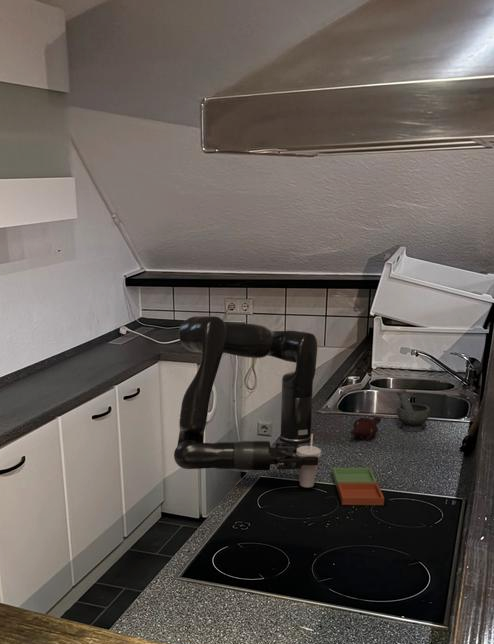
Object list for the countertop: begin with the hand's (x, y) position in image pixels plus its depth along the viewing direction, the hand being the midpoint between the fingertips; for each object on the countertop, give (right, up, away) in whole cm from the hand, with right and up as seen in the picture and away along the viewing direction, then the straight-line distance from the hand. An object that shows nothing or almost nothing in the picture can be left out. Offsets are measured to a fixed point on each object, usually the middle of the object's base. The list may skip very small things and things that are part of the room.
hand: (316, 456), depth 196 cm
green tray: (+11, -6, +7) cm, 15 cm away
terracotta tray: (+10, -10, -3) cm, 15 cm away
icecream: (+22, +6, +40) cm, 46 cm away
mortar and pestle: (+39, +10, +48) cm, 63 cm away
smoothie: (-2, -7, +3) cm, 9 cm away
